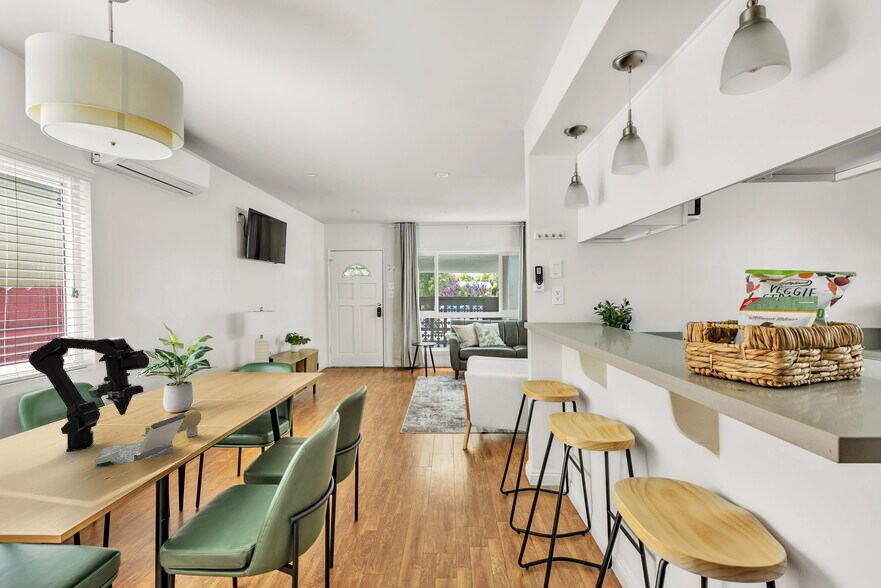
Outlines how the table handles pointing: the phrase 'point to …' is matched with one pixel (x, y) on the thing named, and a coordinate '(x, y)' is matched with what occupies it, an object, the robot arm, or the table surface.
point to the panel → (133, 453)
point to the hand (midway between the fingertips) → (122, 414)
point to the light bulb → (192, 422)
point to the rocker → (107, 457)
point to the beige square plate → (161, 433)
